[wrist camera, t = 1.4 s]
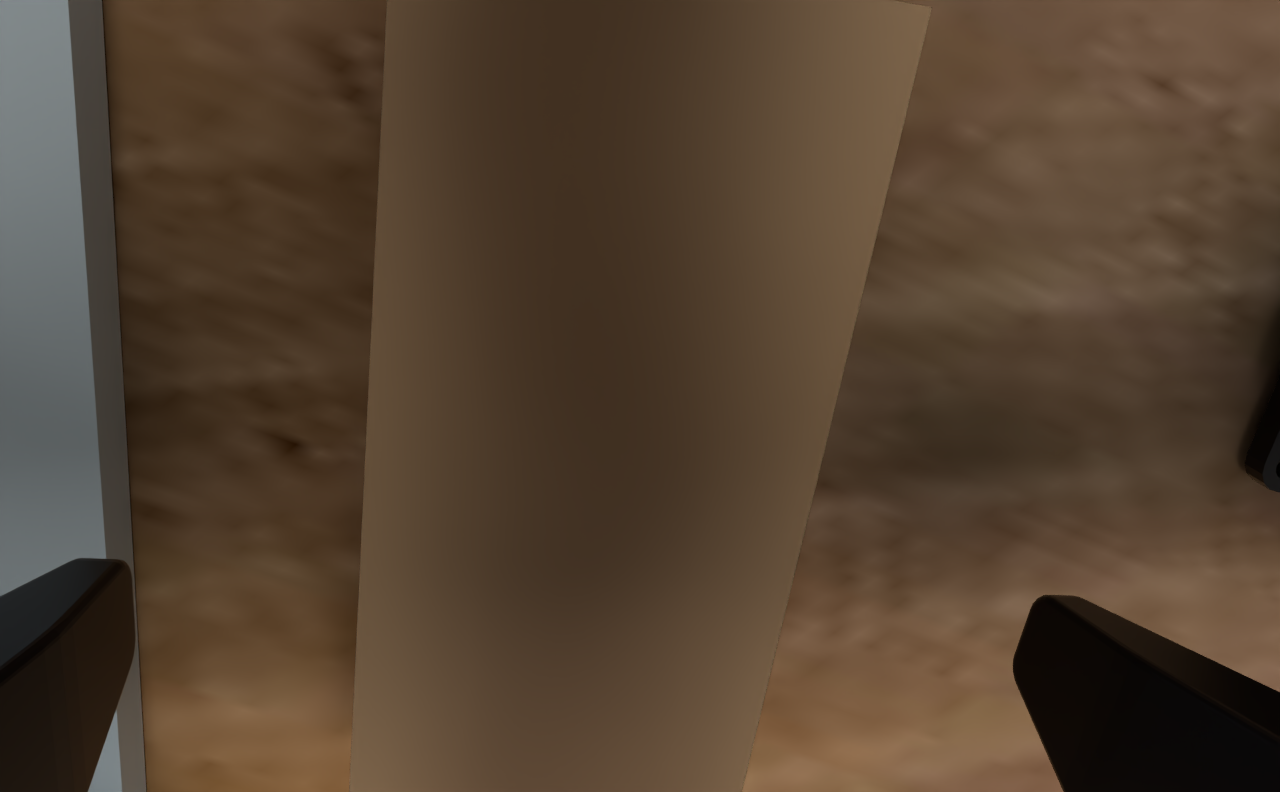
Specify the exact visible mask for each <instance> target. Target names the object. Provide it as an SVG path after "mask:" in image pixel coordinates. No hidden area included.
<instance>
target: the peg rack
mask: <svg viewBox="0 0 1280 792" xmlns="http://www.w3.org/2000/svg"><path fill="white" fill-rule="evenodd" d="M77 558H99V559H119V560H123V561H125V562H126V563H127V564H128V565H129V567H130V570H131V573H132V583H133V600H134V617H135V634H136V641H135V651H134V657H133V661H132V665H131V668H130V671H129V674H128V677H127V680H126V683H125V686H124V689H123V691H122V694H121V697H120V700H119V703H118V706H117V709H116V712H115V715H114V718H113V721H112V723H111V726H110V729H109V732H108V735H107V738H106V741H105V744H104V747H103V750H102V752H101V755H100V758H99V761H98V764H97V767H96V770H95V773H94V776H93V779H92V782H91V784H90V787H89V790H88V792H146V775H145V757H144V739H143V722H142V704H141V686H140V668H139V651H138V633H137V615H136V597H135V579H134V562H133V544H132V526H131V508H130V491H129V473H128V455H127V437H126V420H125V402H124V384H123V366H122V349H121V331H120V313H119V295H118V278H117V260H116V242H115V224H114V207H113V189H112V171H111V153H110V136H109V118H108V100H107V82H106V64H105V47H104V29H103V11H102V0H0V596H2V595H4V594H6V593H8V592H10V591H12V590H14V589H15V588H17V587H19V586H21V585H23V584H25V583H27V582H29V581H31V580H33V579H35V578H37V577H39V576H41V575H43V574H45V573H47V572H49V571H51V570H53V569H55V568H57V567H59V566H61V565H63V564H65V563H67V562H69V561H71V560H74V559H77Z"/></svg>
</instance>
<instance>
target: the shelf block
mask: <svg viewBox="0 0 1280 792" xmlns="http://www.w3.org/2000/svg"><path fill="white" fill-rule="evenodd" d="M931 10H932V7H928V6H922V5H917V4H911V3H906V2H900V1H894V0H387V10H386V31H385V52H384V73H383V94H382V114H381V135H380V156H379V177H378V198H377V219H376V240H375V261H374V282H373V303H372V324H371V345H370V366H369V387H368V408H367V429H366V450H365V471H364V492H363V513H362V534H361V555H360V576H359V596H358V617H357V638H356V659H355V680H354V701H353V722H352V743H351V764H350V785H349V792H742V789H743V785H744V781H745V777H746V772H747V768H748V764H749V760H750V756H751V752H752V748H753V744H754V739H755V735H756V731H757V727H758V723H759V719H760V715H761V711H762V706H763V702H764V698H765V694H766V690H767V686H768V682H769V678H770V673H771V669H772V665H773V661H774V657H775V653H776V649H777V645H778V641H779V636H780V632H781V628H782V624H783V620H784V616H785V612H786V608H787V603H788V599H789V595H790V591H791V587H792V583H793V579H794V575H795V570H796V566H797V562H798V558H799V554H800V550H801V546H802V542H803V537H804V533H805V529H806V525H807V521H808V517H809V513H810V509H811V504H812V500H813V496H814V492H815V488H816V484H817V480H818V476H819V472H820V467H821V463H822V459H823V455H824V451H825V447H826V443H827V439H828V434H829V430H830V426H831V422H832V418H833V414H834V410H835V406H836V401H837V397H838V393H839V389H840V385H841V381H842V377H843V373H844V368H845V364H846V360H847V356H848V352H849V348H850V344H851V340H852V335H853V331H854V327H855V323H856V319H857V315H858V311H859V307H860V303H861V298H862V294H863V290H864V286H865V282H866V278H867V274H868V270H869V265H870V261H871V257H872V253H873V249H874V245H875V241H876V237H877V232H878V228H879V224H880V220H881V216H882V212H883V208H884V204H885V199H886V195H887V191H888V187H889V183H890V179H891V175H892V171H893V166H894V162H895V158H896V154H897V150H898V146H899V142H900V138H901V134H902V129H903V125H904V121H905V117H906V113H907V109H908V105H909V101H910V96H911V92H912V88H913V84H914V80H915V76H916V72H917V68H918V63H919V59H920V55H921V51H922V47H923V43H924V39H925V35H926V30H927V26H928V22H929V18H930V14H931Z"/></svg>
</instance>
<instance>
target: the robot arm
mask: <svg viewBox="0 0 1280 792" xmlns="http://www.w3.org/2000/svg"><path fill="white" fill-rule="evenodd" d="M1279 461H1280V377H1279V379H1278V381H1277V384H1276V386H1275V389H1274V391H1273V393H1272V396H1271V398H1270V400H1269V403H1268V405H1267V407H1266V410H1265V412H1264V415H1263V417H1262V419H1261V422H1260V424H1259V426H1258V429H1257V431H1256V433H1255V436H1254V438H1253V441H1252V443H1251V445H1250V448H1249V450H1248V452H1247V456H1246V460H1245V468H1246V473H1247V474H1248V475H1249V476H1250V477H1251V478H1252V479H1253V480H1255V481H1257V482H1258V483H1260V484H1262V485H1263V486H1265V487H1266V488H1268V489H1270V490H1273V491H1276V492H1280V463H1279ZM1278 463H1279V464H1278ZM135 641H136V634H135V617H134V600H133V583H132V573H131V570H130V567H129V565H128V564H127V563H126V562H125V561H123V560H119V559H99V558H77V559H74V560H71V561H69V562H67V563H65V564H63V565H61V566H59V567H57V568H55V569H53V570H51V571H49V572H47V573H45V574H43V575H41V576H39V577H37V578H35V579H33V580H31V581H29V582H27V583H25V584H23V585H21V586H19V587H17V588H15V589H14V590H12V591H10V592H8V593H6V594H4V595H2V596H0V792H88V790H89V787H90V784H91V782H92V779H93V776H94V773H95V770H96V767H97V764H98V761H99V758H100V755H101V752H102V750H103V747H104V744H105V741H106V738H107V735H108V732H109V729H110V726H111V723H112V721H113V718H114V715H115V712H116V709H117V706H118V703H119V700H120V697H121V694H122V691H123V689H124V686H125V683H126V680H127V677H128V674H129V671H130V668H131V665H132V661H133V657H134V651H135ZM1013 673H1014V678H1015V681H1016V684H1017V686H1018V689H1019V691H1020V693H1021V696H1022V698H1023V700H1024V702H1025V705H1026V707H1027V709H1028V712H1029V714H1030V716H1031V718H1032V721H1033V723H1034V725H1035V728H1036V730H1037V732H1038V734H1039V737H1040V739H1041V741H1042V744H1043V746H1044V748H1045V750H1046V753H1047V755H1048V757H1049V760H1050V762H1051V764H1052V766H1053V769H1054V771H1055V773H1056V776H1057V778H1058V780H1059V782H1060V785H1061V787H1062V789H1063V791H1064V792H1280V692H1278V691H1276V690H1274V689H1272V688H1270V687H1267V686H1265V685H1263V684H1261V683H1259V682H1257V681H1255V680H1253V679H1251V678H1249V677H1246V676H1244V675H1242V674H1240V673H1238V672H1236V671H1234V670H1232V669H1230V668H1228V667H1225V666H1223V665H1221V664H1219V663H1217V662H1215V661H1213V660H1211V659H1209V658H1206V657H1204V656H1202V655H1200V654H1198V653H1196V652H1194V651H1192V650H1190V649H1188V648H1185V647H1183V646H1181V645H1179V644H1177V643H1175V642H1173V641H1171V640H1169V639H1167V638H1164V637H1162V636H1160V635H1158V634H1156V633H1154V632H1152V631H1150V630H1148V629H1146V628H1143V627H1141V626H1139V625H1137V624H1135V623H1133V622H1131V621H1129V620H1127V619H1125V618H1122V617H1120V616H1118V615H1116V614H1114V613H1112V612H1110V611H1108V610H1106V609H1104V608H1101V607H1099V606H1097V605H1095V604H1093V603H1091V602H1089V601H1087V600H1085V599H1083V598H1080V597H1076V596H1066V595H1043V596H1041V597H1039V598H1038V599H1037V600H1036V601H1035V602H1034V603H1033V605H1032V607H1031V609H1030V612H1029V615H1028V618H1027V620H1026V623H1025V626H1024V629H1023V632H1022V635H1021V637H1020V640H1019V643H1018V646H1017V649H1016V652H1015V655H1014V658H1013Z"/></svg>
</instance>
